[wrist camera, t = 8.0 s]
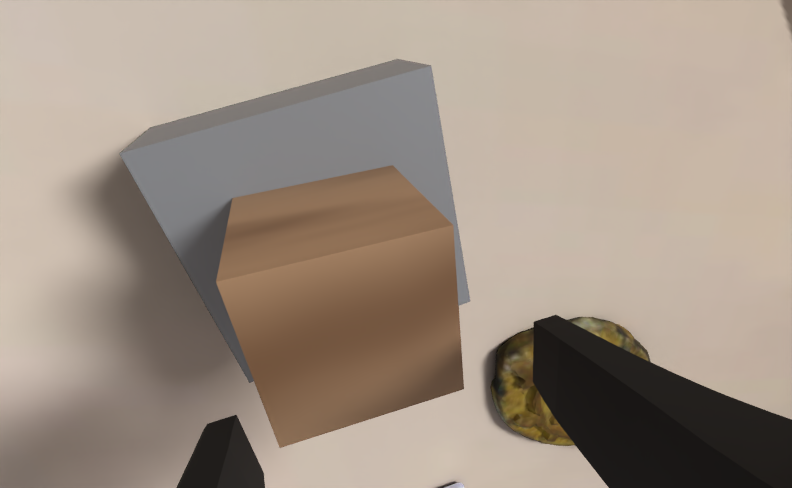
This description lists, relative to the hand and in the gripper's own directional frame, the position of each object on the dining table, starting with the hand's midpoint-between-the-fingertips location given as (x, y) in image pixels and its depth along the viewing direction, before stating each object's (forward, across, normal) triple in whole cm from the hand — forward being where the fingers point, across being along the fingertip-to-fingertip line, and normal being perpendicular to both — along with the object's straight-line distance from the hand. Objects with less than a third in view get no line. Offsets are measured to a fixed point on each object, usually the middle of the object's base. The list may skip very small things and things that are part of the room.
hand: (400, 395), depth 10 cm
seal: (+10, -13, +14) cm, 22 cm away
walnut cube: (+6, +1, -1) cm, 6 cm away
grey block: (+10, +1, -2) cm, 10 cm away
